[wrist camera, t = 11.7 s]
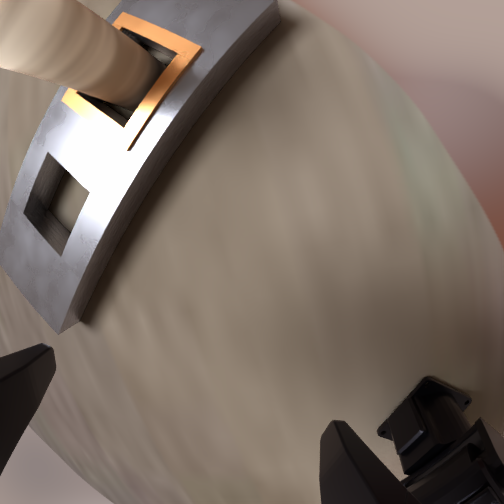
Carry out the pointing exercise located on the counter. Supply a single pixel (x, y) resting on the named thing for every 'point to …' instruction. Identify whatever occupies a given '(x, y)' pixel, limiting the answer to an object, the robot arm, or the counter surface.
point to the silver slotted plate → (118, 147)
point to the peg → (75, 50)
